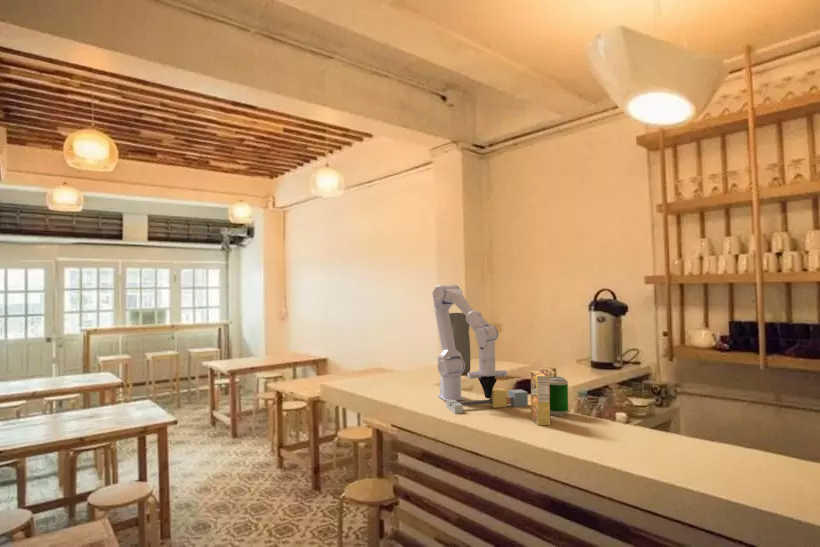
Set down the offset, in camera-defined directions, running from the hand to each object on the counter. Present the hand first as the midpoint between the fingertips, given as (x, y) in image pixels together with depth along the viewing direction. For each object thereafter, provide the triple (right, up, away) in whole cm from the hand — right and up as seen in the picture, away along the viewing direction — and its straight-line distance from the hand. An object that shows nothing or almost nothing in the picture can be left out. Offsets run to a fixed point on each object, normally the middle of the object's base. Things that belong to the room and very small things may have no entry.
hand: (487, 397), depth 174 cm
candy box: (+14, -3, -19) cm, 24 cm away
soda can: (+22, -3, -10) cm, 24 cm away
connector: (+12, -3, +3) cm, 12 cm away
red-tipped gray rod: (-2, -3, -1) cm, 3 cm away
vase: (-3, -6, +71) cm, 72 cm away
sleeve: (+4, -3, +1) cm, 5 cm away
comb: (-12, -3, -3) cm, 13 cm away
